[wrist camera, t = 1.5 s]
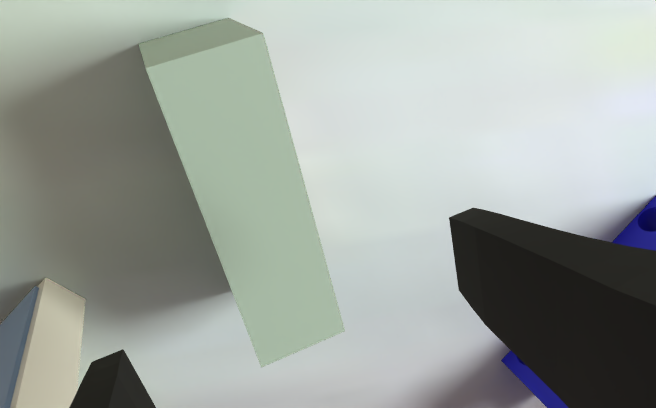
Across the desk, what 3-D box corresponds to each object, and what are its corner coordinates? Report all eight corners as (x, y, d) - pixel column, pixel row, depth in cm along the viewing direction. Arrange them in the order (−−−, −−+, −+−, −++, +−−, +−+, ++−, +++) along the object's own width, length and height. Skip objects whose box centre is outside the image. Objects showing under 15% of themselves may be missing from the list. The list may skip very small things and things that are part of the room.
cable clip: (538, 389, 31) (621, 472, 26) (499, 358, 29) (581, 442, 24) (683, 237, 31) (798, 291, 25) (654, 193, 28) (774, 243, 23)
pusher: (301, 261, 22) (344, 331, 18) (233, 288, 22) (261, 367, 17) (227, 17, 18) (263, 33, 13) (138, 43, 17) (145, 68, 13)
